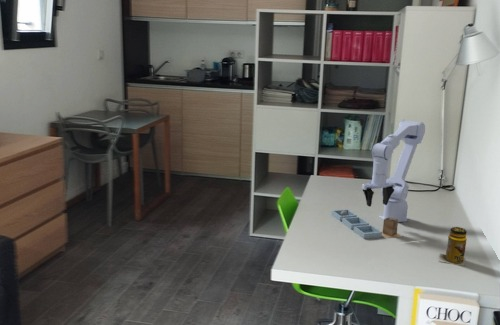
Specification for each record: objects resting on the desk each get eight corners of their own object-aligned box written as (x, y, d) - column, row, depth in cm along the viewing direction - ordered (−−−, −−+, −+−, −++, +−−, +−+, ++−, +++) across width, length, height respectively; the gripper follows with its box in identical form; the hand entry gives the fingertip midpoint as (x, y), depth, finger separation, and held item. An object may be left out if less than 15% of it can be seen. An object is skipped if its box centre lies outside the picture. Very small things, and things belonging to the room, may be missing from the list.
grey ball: (345, 215, 224) (345, 209, 224) (348, 218, 222) (349, 211, 221) (339, 216, 223) (339, 209, 223) (342, 218, 221) (342, 212, 220)
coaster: (392, 231, 209) (392, 229, 209) (402, 237, 203) (402, 236, 203) (377, 232, 207) (377, 231, 207) (386, 239, 201) (387, 237, 201)
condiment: (464, 266, 179) (469, 234, 176) (438, 261, 182) (443, 230, 179) (464, 258, 185) (468, 227, 183) (439, 254, 188) (443, 223, 186)
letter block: (387, 231, 208) (389, 216, 206) (396, 234, 205) (398, 219, 203) (382, 233, 205) (383, 219, 204) (391, 236, 202) (392, 221, 201)
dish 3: (370, 230, 209) (371, 225, 208) (381, 238, 202) (382, 232, 201) (353, 232, 207) (353, 226, 206) (363, 239, 199) (364, 233, 199)
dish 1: (347, 214, 227) (348, 209, 227) (356, 220, 220) (356, 215, 219) (331, 215, 225) (331, 210, 224) (339, 222, 218) (340, 216, 217)
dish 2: (358, 222, 218) (359, 216, 218) (368, 229, 211) (369, 223, 210) (341, 223, 216) (342, 218, 215) (351, 230, 208) (351, 224, 208)
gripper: (389, 169, 213) (386, 200, 217) (359, 171, 209) (356, 203, 212) (399, 173, 207) (396, 205, 210) (368, 176, 202) (365, 208, 205)
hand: (376, 205), depth 211 cm, fingers open, 7 cm apart
